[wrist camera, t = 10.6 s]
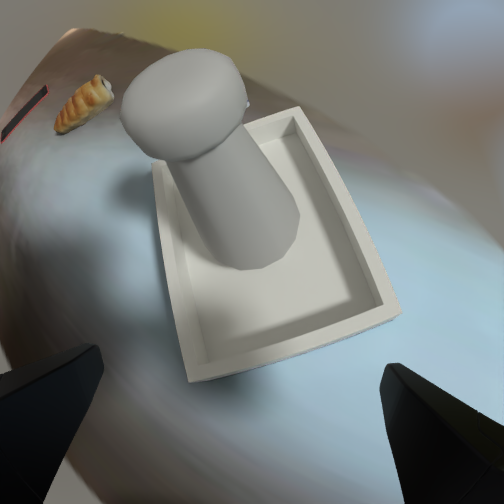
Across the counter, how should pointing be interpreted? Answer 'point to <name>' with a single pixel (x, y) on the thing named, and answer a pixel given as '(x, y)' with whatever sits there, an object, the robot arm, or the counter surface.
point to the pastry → (84, 104)
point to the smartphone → (24, 112)
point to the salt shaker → (212, 156)
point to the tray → (274, 267)
